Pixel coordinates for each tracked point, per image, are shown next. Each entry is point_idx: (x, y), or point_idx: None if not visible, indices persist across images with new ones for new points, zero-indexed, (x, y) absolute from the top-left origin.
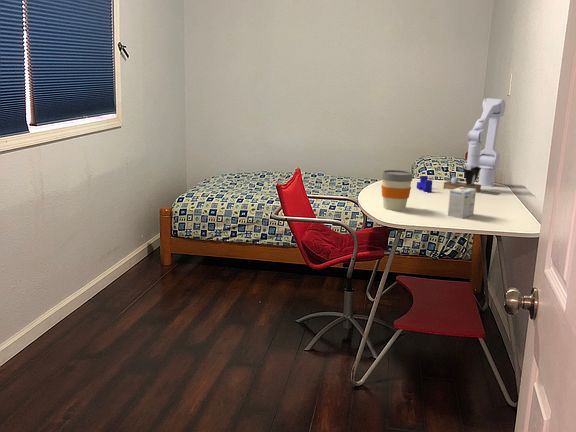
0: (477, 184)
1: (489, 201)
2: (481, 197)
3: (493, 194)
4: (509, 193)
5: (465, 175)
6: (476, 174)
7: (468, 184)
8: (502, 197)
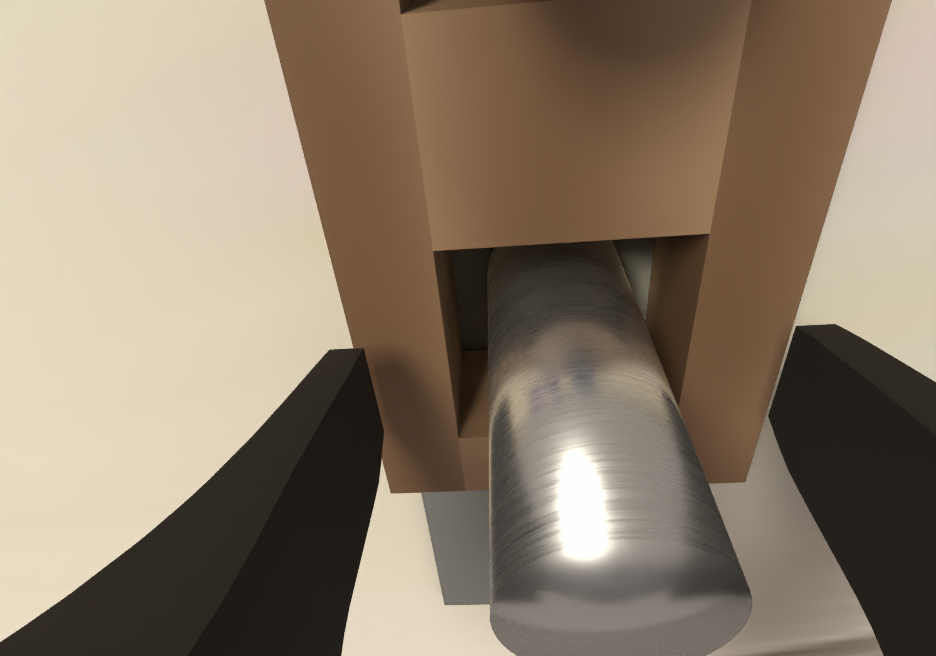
0: (736, 432)
1: (49, 606)
2: (164, 519)
3: (467, 574)
4: (744, 632)
5: (140, 544)
6: (899, 649)
7: (500, 328)
8: (411, 633)
